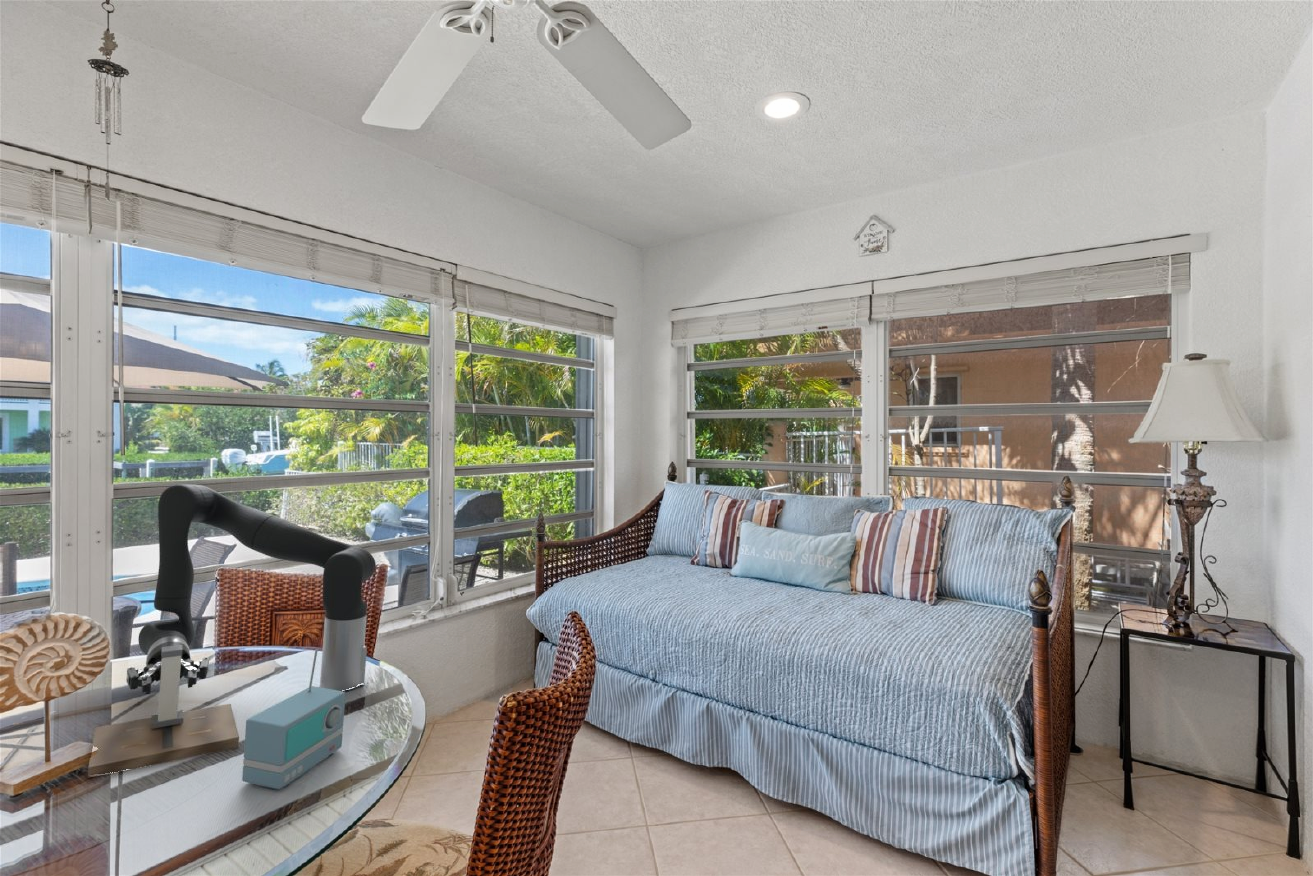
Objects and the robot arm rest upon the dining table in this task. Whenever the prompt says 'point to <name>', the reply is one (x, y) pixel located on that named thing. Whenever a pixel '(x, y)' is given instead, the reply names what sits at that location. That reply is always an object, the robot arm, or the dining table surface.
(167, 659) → the fader
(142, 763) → the brown wooden board
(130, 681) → the robot arm
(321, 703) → the radio
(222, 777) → the dining table surface
